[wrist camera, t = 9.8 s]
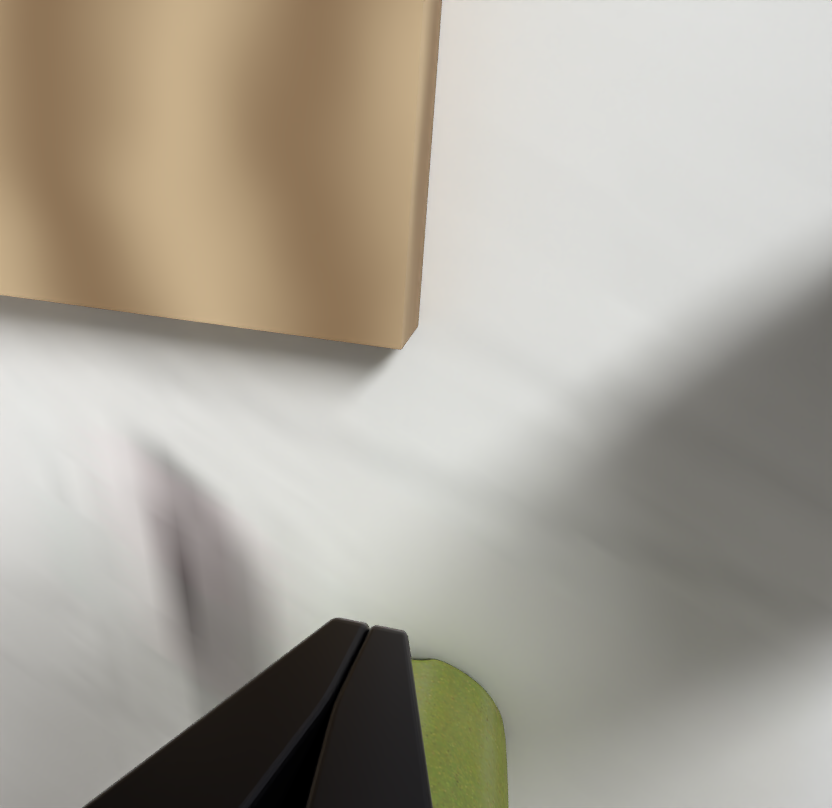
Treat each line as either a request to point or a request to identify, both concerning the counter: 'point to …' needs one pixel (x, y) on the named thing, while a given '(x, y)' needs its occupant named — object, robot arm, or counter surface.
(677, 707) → the counter surface
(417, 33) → the tan wooden slab
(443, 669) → the plant pot
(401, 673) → the robot arm
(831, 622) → the counter surface
